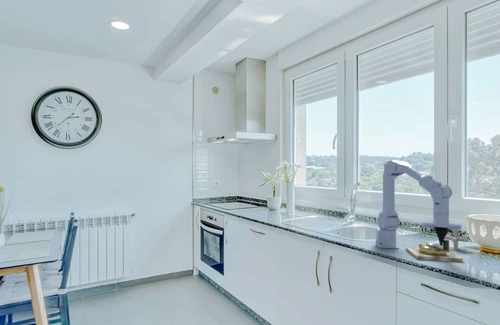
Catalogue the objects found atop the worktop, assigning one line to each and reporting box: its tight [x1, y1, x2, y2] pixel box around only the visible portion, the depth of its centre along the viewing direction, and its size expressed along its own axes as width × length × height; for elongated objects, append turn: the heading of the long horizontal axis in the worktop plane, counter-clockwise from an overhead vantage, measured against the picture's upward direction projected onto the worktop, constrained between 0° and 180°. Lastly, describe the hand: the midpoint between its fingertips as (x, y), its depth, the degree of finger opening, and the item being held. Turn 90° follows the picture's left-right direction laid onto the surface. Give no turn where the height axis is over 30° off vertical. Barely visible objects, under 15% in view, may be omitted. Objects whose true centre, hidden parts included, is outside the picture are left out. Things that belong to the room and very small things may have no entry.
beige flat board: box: [405, 246, 464, 263], centre depth 144 cm, size 18×16×2 cm
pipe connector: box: [444, 229, 469, 250], centre depth 156 cm, size 10×10×10 cm
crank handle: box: [418, 239, 451, 256], centre depth 141 cm, size 16×11×8 cm
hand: (441, 245), depth 135 cm, fingers closed
